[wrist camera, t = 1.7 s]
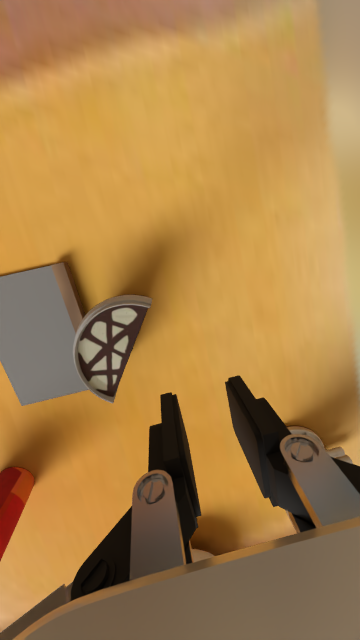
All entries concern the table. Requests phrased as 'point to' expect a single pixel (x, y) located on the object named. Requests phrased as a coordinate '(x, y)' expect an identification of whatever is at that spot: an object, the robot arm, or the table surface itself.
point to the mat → (37, 337)
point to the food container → (108, 342)
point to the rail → (69, 293)
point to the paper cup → (12, 500)
